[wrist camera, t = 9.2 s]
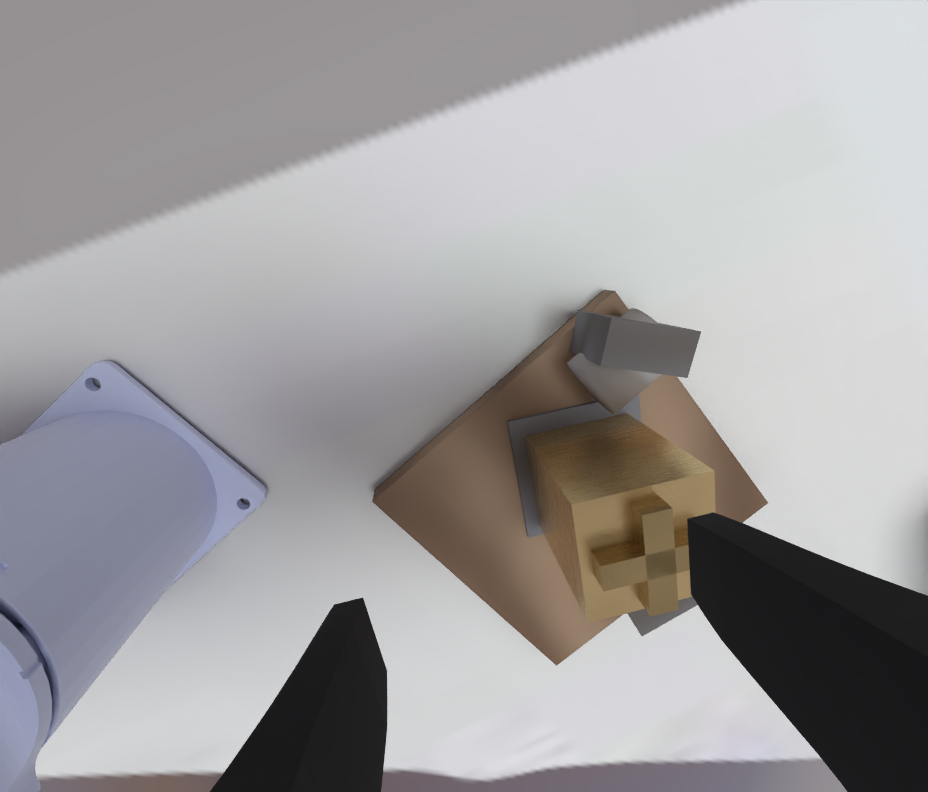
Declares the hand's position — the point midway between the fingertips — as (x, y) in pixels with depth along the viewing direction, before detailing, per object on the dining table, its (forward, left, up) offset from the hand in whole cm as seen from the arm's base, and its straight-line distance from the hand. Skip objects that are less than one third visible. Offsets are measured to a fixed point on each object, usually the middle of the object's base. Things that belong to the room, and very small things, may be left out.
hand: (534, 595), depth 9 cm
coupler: (+2, -4, -9) cm, 10 cm away
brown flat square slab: (+2, -6, -10) cm, 11 cm away
